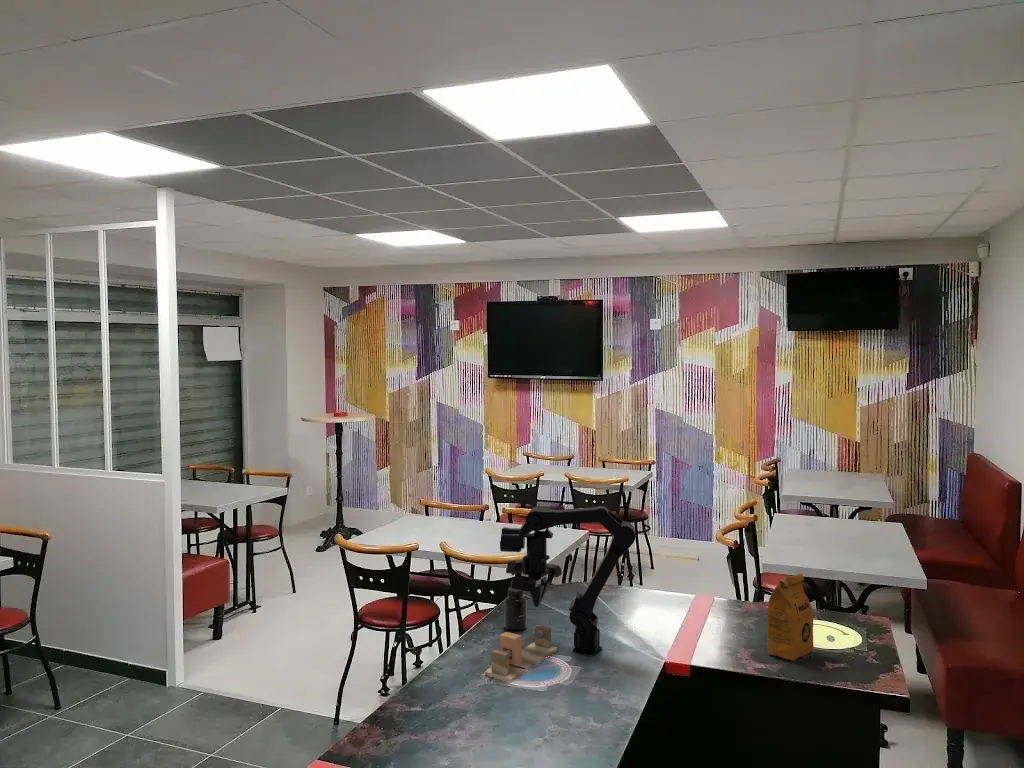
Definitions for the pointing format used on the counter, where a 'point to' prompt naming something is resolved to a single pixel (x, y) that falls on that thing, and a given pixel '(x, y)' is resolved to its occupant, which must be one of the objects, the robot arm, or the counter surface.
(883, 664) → the counter surface
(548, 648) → the pipe stand
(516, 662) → the brown block with hole
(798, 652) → the coffee package
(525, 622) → the supplement bottle
